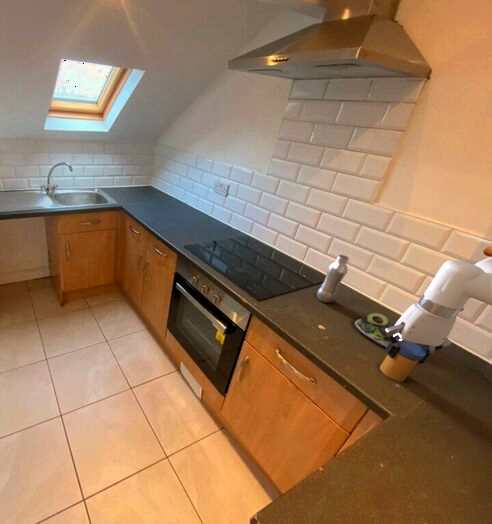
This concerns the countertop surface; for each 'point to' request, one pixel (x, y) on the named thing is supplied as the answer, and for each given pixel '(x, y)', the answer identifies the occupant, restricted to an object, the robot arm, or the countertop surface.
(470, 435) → the countertop surface
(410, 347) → the lid
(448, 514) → the countertop surface
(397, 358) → the jar
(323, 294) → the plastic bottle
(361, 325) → the salad plate
